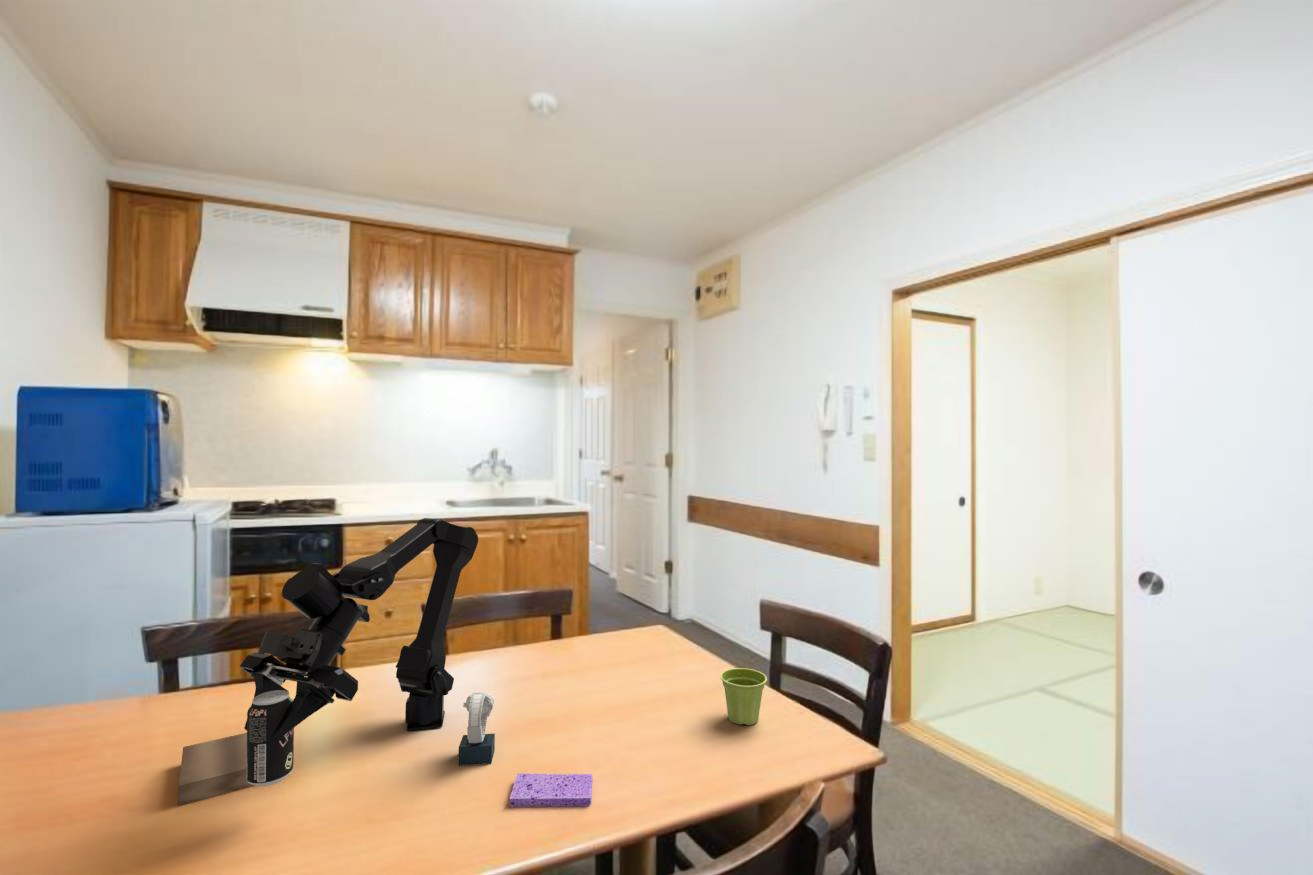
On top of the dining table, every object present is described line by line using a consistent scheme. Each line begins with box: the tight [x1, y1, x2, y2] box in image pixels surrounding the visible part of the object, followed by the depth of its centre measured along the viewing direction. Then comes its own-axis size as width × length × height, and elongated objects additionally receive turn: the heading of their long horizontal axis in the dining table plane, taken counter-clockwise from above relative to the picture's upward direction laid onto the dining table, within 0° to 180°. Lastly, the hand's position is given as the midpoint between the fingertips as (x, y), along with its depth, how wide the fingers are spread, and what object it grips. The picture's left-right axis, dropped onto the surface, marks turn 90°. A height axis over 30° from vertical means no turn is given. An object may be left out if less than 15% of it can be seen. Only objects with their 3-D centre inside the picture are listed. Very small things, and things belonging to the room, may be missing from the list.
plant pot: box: [719, 667, 768, 726], centre depth 122 cm, size 9×9×9 cm
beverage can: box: [246, 690, 295, 788], centre depth 87 cm, size 6×6×12 cm
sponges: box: [509, 772, 594, 808], centre depth 95 cm, size 7×13×2 cm, turn 93°
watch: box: [457, 691, 496, 766], centre depth 105 cm, size 6×8×11 cm
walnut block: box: [177, 732, 255, 807], centre depth 100 cm, size 14×14×3 cm
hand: (261, 733), depth 85 cm, fingers closed on beverage can, 5 cm apart
